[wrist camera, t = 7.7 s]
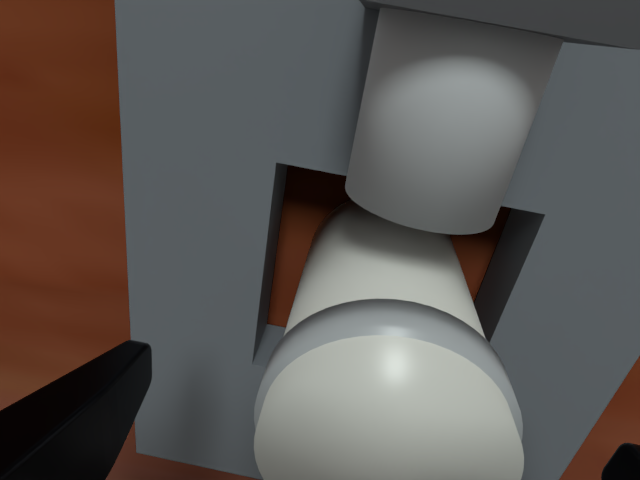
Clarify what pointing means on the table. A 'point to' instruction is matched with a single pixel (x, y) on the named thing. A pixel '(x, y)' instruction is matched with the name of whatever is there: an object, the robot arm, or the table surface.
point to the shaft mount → (380, 188)
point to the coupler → (385, 366)
